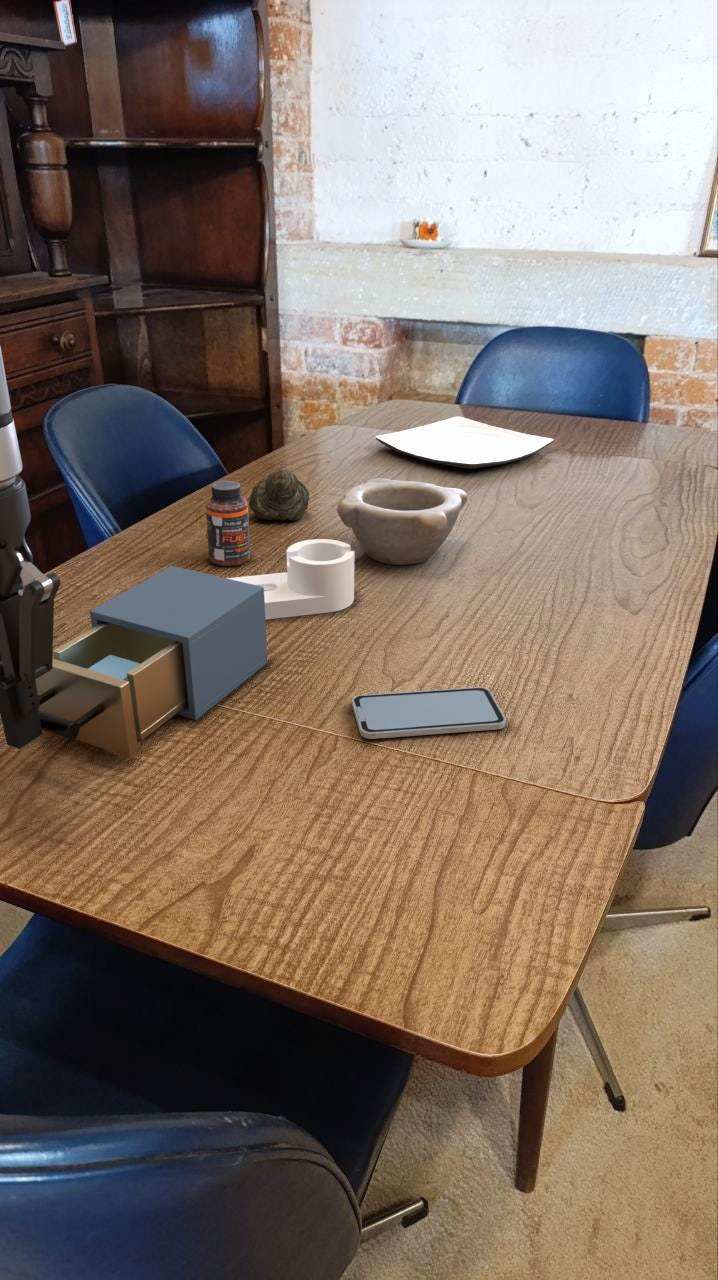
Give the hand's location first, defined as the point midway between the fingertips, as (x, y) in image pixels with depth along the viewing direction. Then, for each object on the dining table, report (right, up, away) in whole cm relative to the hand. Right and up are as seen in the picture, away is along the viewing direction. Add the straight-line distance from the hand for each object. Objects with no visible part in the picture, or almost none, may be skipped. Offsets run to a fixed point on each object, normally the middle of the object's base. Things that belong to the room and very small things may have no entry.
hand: (25, 739), depth 77 cm
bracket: (+19, +13, +37) cm, 44 cm away
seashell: (+17, +30, +68) cm, 76 cm away
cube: (+5, +2, +11) cm, 12 cm away
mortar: (+36, +21, +53) cm, 67 cm away
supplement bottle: (+11, +20, +50) cm, 55 cm away
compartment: (+10, +5, +20) cm, 23 cm away
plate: (+51, +47, +101) cm, 123 cm away
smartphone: (+37, +1, +13) cm, 39 cm away
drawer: (+5, 0, +10) cm, 11 cm away
